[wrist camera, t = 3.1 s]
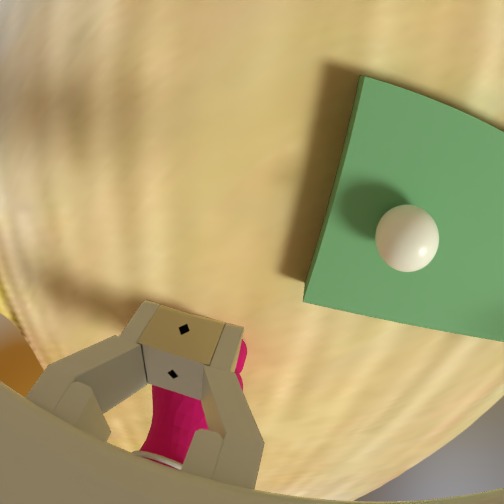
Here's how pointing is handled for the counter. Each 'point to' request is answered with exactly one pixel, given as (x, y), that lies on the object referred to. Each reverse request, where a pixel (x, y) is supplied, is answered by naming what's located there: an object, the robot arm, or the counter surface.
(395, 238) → the ball
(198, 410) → the pepper mill
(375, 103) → the green
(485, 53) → the counter surface
